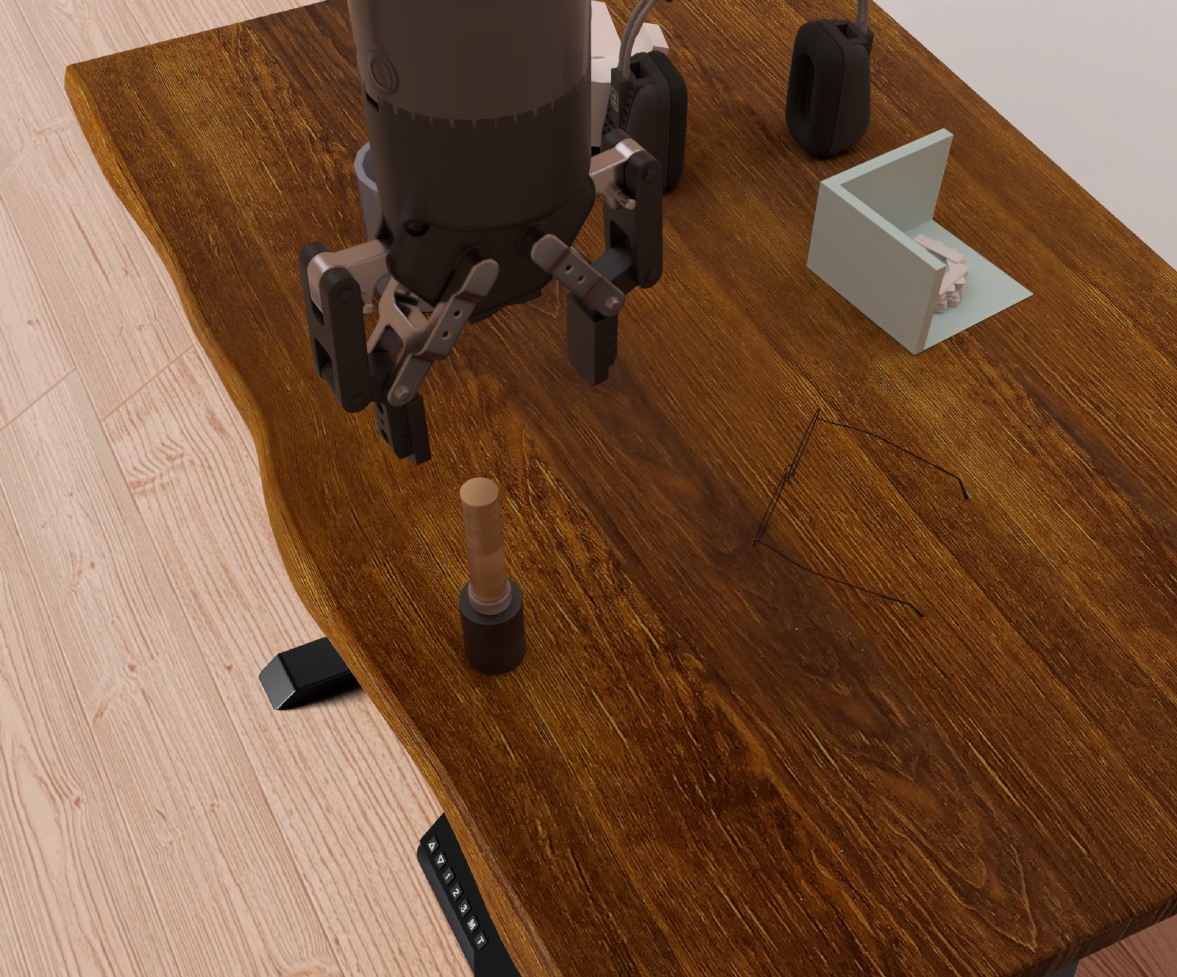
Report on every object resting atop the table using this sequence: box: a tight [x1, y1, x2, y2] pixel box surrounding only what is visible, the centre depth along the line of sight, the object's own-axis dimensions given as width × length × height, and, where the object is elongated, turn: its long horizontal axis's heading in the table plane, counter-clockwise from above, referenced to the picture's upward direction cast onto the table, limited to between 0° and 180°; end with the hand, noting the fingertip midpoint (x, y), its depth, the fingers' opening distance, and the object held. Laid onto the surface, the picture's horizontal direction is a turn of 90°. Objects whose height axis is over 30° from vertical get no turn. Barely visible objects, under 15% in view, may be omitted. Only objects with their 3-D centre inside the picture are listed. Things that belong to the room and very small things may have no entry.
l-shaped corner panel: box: [806, 127, 1034, 356], centre depth 93 cm, size 12×12×8 cm
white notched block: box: [591, 0, 670, 148], centre depth 107 cm, size 18×10×10 cm, turn 11°
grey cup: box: [353, 140, 435, 313], centre depth 92 cm, size 8×8×10 cm
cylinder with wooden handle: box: [458, 476, 527, 676], centre depth 70 cm, size 4×4×14 cm
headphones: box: [601, 0, 875, 192], centre depth 98 cm, size 22×6×20 cm, turn 109°
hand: (501, 411), depth 53 cm, fingers open, 8 cm apart
